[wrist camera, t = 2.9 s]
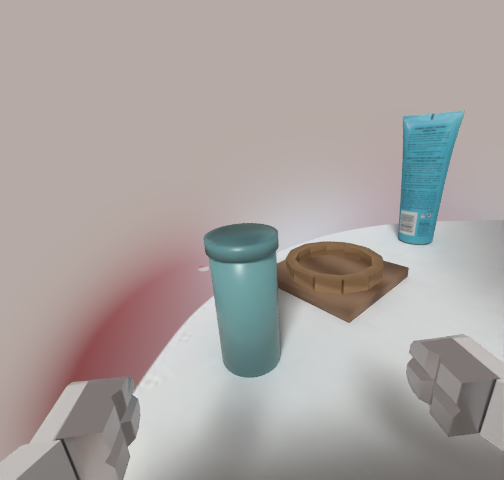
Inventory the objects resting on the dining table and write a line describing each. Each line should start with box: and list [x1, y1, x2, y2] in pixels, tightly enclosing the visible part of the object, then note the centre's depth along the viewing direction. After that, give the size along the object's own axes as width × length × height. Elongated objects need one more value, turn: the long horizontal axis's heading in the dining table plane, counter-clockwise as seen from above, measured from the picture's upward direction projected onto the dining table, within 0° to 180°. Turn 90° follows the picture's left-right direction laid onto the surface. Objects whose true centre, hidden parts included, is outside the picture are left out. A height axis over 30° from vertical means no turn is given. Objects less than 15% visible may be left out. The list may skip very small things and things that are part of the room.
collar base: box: [277, 241, 409, 323], centre depth 35 cm, size 13×13×3 cm
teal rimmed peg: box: [204, 223, 280, 377], centre depth 22 cm, size 5×5×11 cm
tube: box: [398, 110, 465, 244], centre depth 42 cm, size 7×5×19 cm, turn 53°
